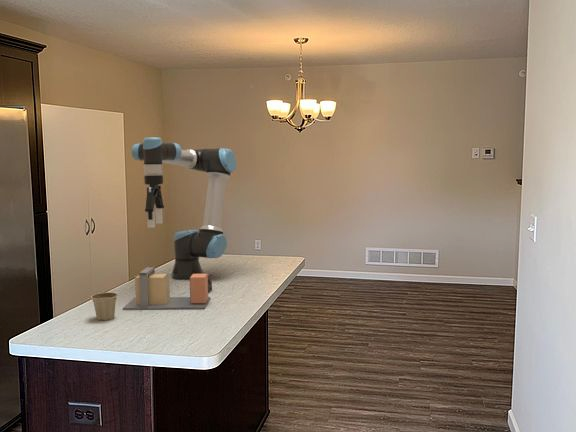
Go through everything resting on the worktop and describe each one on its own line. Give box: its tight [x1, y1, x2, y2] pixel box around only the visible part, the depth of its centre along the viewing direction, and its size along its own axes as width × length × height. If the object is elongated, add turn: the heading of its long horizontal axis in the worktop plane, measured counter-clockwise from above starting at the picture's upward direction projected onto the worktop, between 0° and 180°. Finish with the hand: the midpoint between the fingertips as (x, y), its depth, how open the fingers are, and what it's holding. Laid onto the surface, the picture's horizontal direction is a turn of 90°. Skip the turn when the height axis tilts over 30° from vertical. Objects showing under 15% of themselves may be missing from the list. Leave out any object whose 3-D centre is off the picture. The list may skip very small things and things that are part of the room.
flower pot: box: [90, 292, 118, 321], centre depth 205 cm, size 9×9×9 cm
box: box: [207, 273, 213, 294], centre depth 245 cm, size 6×6×7 cm
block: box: [189, 273, 209, 303], centre depth 223 cm, size 7×6×10 cm
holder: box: [122, 266, 211, 311], centre depth 223 cm, size 16×32×14 cm, turn 89°
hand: (155, 225), depth 233 cm, fingers open, 13 cm apart
